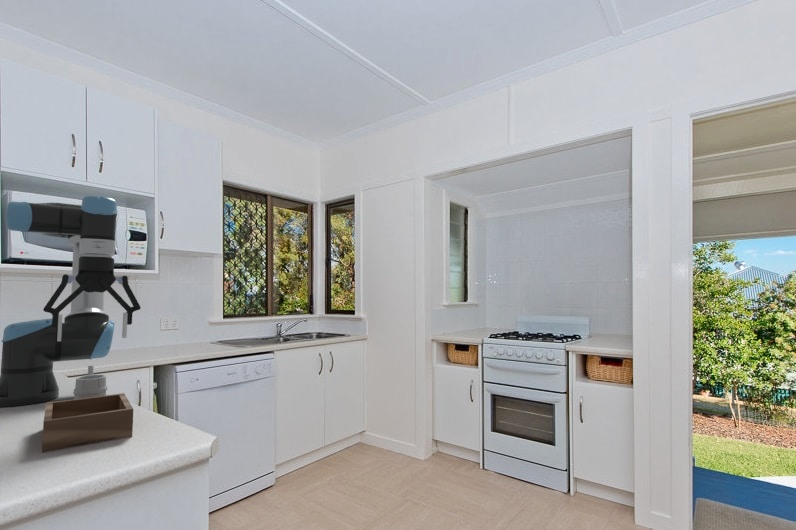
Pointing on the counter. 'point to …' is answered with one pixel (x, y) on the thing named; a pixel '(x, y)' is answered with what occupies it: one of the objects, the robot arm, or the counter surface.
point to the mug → (90, 385)
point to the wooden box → (86, 421)
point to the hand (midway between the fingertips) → (92, 339)
